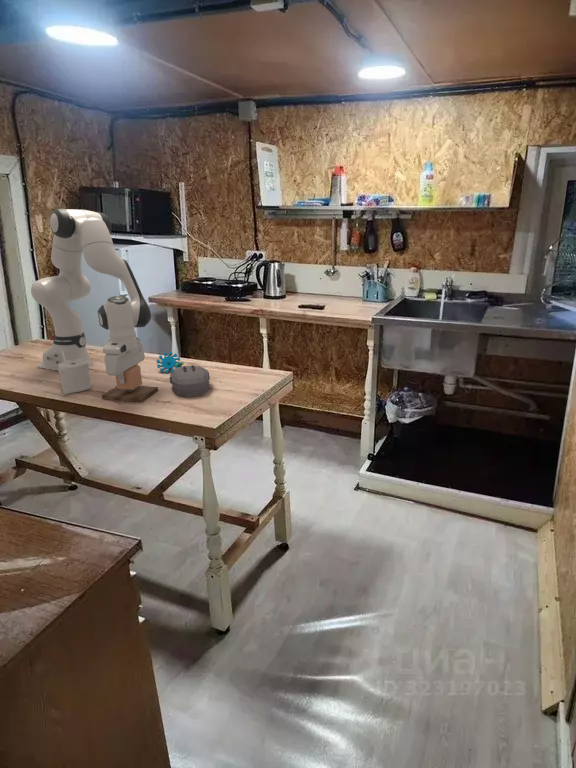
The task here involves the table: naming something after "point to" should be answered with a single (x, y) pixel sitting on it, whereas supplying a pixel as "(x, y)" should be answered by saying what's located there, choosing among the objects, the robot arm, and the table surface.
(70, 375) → the toilet tissue
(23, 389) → the table surface
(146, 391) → the stub plate
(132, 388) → the salmon orange block
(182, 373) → the small grey backpack
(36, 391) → the table surface
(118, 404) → the table surface
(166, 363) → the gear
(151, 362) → the table surface
